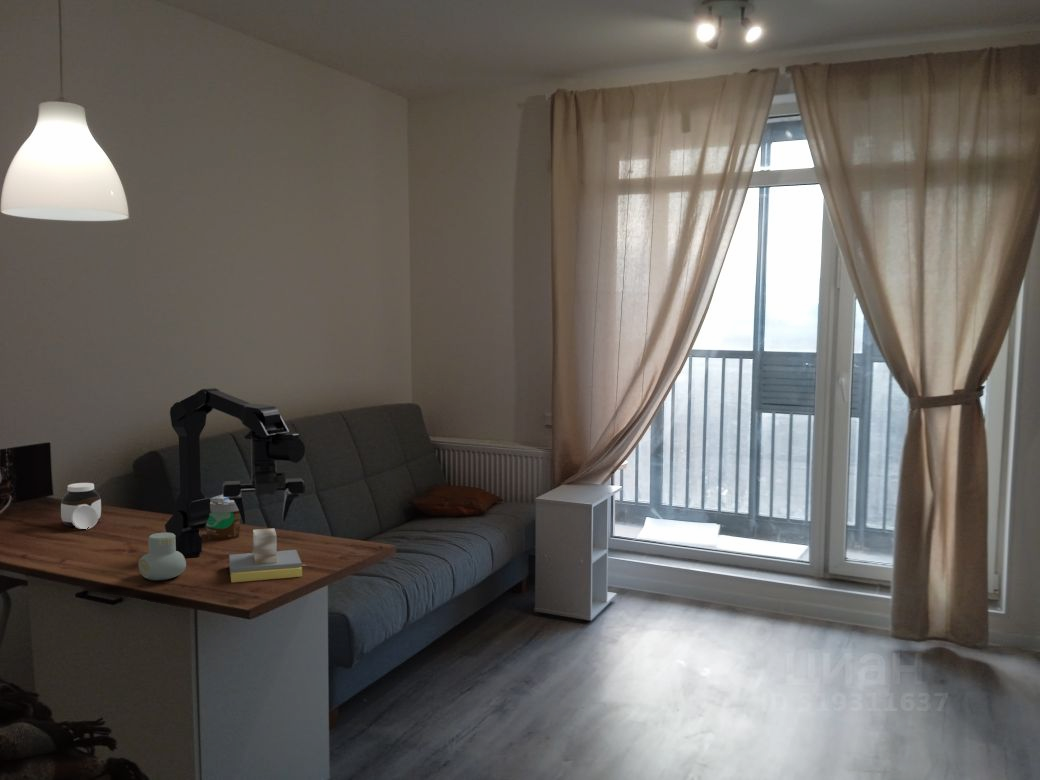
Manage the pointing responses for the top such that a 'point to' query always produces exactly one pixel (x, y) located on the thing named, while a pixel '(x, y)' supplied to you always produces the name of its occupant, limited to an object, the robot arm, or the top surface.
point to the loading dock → (264, 567)
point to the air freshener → (162, 558)
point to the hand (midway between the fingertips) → (264, 522)
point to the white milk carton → (264, 546)
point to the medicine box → (222, 499)
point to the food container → (223, 521)
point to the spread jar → (81, 506)
